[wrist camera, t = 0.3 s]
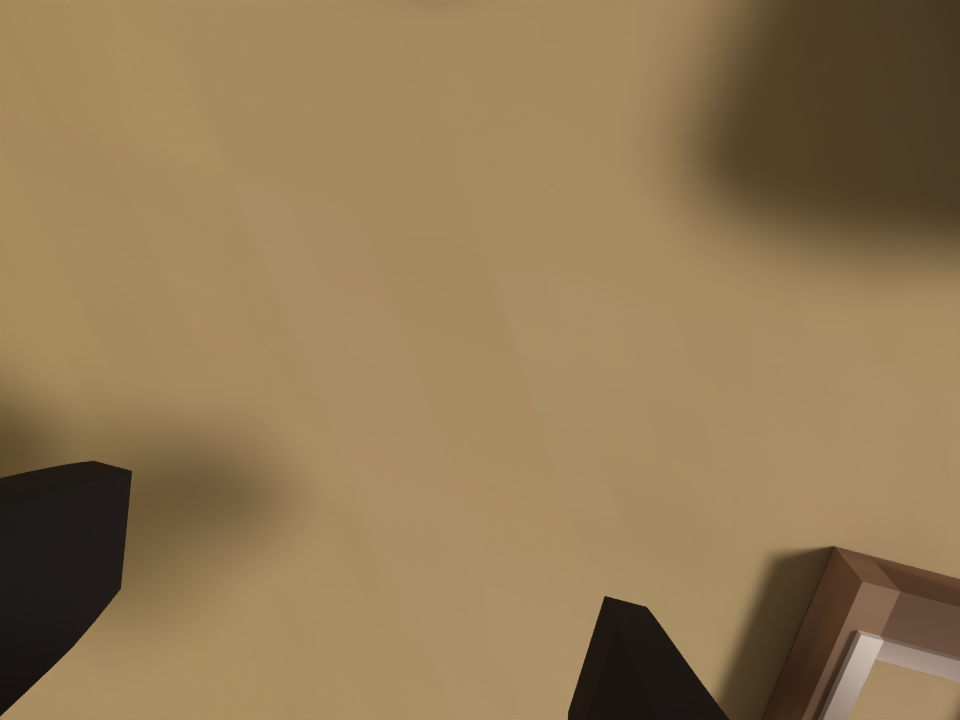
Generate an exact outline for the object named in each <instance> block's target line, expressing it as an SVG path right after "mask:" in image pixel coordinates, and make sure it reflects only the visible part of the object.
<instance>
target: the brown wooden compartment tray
mask: <svg viewBox="0 0 960 720" xmlns="http://www.w3.org/2000/svg"><path fill="white" fill-rule="evenodd" d="M875 660H879V661H883V662H886V663H890V664H894V665H897V666H901V667H905V668H909V669H912V670H916V671H920V672H923V673H927V674H931V675H935V676H938V677H942V678H946V679H949V680H953V681H957V682H960V579H956V578H953V577H949V576H945V575H941V574H937V573H933V572H930V571H926V570H922V569H918V568H914V567H910V566H907V565H903V564H899V563H895V562H891V561H888V560H884V559H880V558H876V557H872V556H868V555H865V554H861V553H857V552H853V551H849V550H845V549H842V548H838V547H834V549H833V552H832V554H831V556H830V559H829V561H828V564H827V566H826V568H825V571H824V573H823V575H822V578H821V580H820V583H819V585H818V587H817V590H816V592H815V595H814V597H813V599H812V602H811V604H810V606H809V609H808V611H807V614H806V616H805V618H804V621H803V623H802V626H801V628H800V630H799V633H798V635H797V637H796V640H795V642H794V645H793V647H792V649H791V652H790V654H789V656H788V659H787V661H786V664H785V666H784V668H783V671H782V673H781V676H780V678H779V680H778V683H777V685H776V687H775V690H774V692H773V695H772V697H771V699H770V702H769V704H768V707H767V709H766V711H765V714H764V716H763V718H762V720H848V717H849V715H850V713H851V711H852V709H853V707H854V704H855V702H856V700H857V698H858V696H859V694H860V691H861V689H862V687H863V685H864V683H865V681H866V678H867V676H868V674H869V672H870V670H871V668H872V665H873V663H874V661H875Z"/></svg>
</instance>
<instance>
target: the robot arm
mask: <svg viewBox="0 0 960 720" xmlns="http://www.w3.org/2000/svg"><path fill="white" fill-rule="evenodd" d="M131 476H132V471H130V470H126V469H123V468H119V467H115V466H111V465H107V464H104V463H100V462H96V461H89V462H80V463H73V464H67V465H61V466H56V467H50V468H45V469H40V470H36V471H31V472H26V473H21V474H17V475H12V476H8V477H3V478H0V716H1V715H2V714H3V713H4V712H5V711H6V710H8V709H9V708H10V707H11V706H12V705H13V704H14V703H15V702H16V701H17V700H18V699H19V698H20V697H21V696H22V695H23V694H25V693H26V692H27V691H28V690H29V689H30V688H31V687H32V686H33V685H34V684H35V683H36V682H37V681H38V680H39V679H40V678H41V677H42V676H43V675H44V674H45V673H47V672H48V671H49V670H50V669H51V668H52V667H53V666H54V665H55V664H56V663H57V662H58V661H59V660H60V659H61V658H62V657H63V656H64V655H65V654H66V653H67V652H68V651H69V650H70V649H71V648H72V647H73V646H74V645H75V644H76V643H77V642H78V640H79V639H80V638H81V637H82V636H83V635H84V633H85V632H86V631H87V630H88V629H89V627H90V626H91V625H92V624H93V623H94V622H95V620H96V619H97V618H98V617H99V615H100V614H101V613H102V612H103V610H104V609H105V608H106V607H107V605H108V604H109V603H110V602H111V600H112V599H113V598H114V597H115V595H116V594H117V593H118V592H119V590H120V589H121V580H122V570H123V560H124V549H125V539H126V528H127V518H128V507H129V497H130V486H131ZM568 720H729V719H728V717H727V716H726V715H725V713H724V712H723V711H722V710H721V708H720V707H719V706H718V704H717V703H716V702H715V700H714V699H713V698H712V696H711V695H710V694H709V692H708V691H707V690H706V688H705V687H704V685H703V684H702V683H701V681H700V680H699V679H698V677H697V676H696V674H695V673H694V672H693V670H692V669H691V667H690V666H689V665H688V663H687V662H686V660H685V659H684V658H683V656H682V655H681V653H680V652H679V651H678V649H677V648H676V646H675V645H674V644H673V642H672V641H671V639H670V638H669V636H668V635H667V634H666V632H665V631H664V629H663V628H662V627H661V625H660V624H659V623H658V621H657V620H656V618H655V617H654V616H653V614H652V613H651V612H650V611H649V609H648V608H647V607H645V606H641V605H637V604H633V603H630V602H626V601H622V600H618V599H614V598H611V597H607V596H605V597H604V600H603V603H602V606H601V610H600V613H599V616H598V619H597V622H596V625H595V629H594V632H593V635H592V638H591V641H590V645H589V648H588V651H587V654H586V657H585V660H584V664H583V667H582V670H581V673H580V676H579V679H578V683H577V686H576V689H575V692H574V695H573V699H572V702H571V705H570V708H569V711H568Z"/></svg>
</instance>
